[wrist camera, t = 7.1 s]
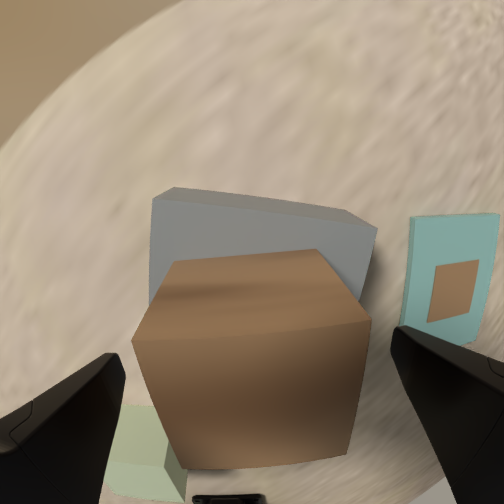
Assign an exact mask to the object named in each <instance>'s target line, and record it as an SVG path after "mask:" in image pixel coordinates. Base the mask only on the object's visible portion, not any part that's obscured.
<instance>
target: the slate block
mask: <svg viewBox="0 0 504 504" xmlns="http://www.w3.org/2000/svg"><path fill="white" fill-rule="evenodd" d="M377 229H378V228H376V227H374V226H372V225H371V224H369V223H367V222H366V221H364V220H362V219H360V218H359V217H357V216H355V215H353V214H351V213H350V212H348V211H346V210H342V209H336V208H330V207H324V206H318V205H312V204H306V203H299V202H292V201H286V200H279V199H271V198H264V197H257V196H249V195H241V194H233V193H225V192H216V191H208V190H198V189H189V188H179V187H173V188H171V189H169V190H168V191H166V192H164V193H162V194H160V195H158V196H157V197H155V198H153V201H152V215H151V233H150V259H149V306H150V304H151V302H152V300H153V298H154V296H155V294H156V293H157V291H158V289H159V287H160V285H161V283H162V282H163V280H164V278H165V276H166V274H167V273H168V271H169V269H170V267H171V265H172V264H173V262H174V261H180V260H191V259H203V258H214V257H226V256H237V255H249V254H260V253H272V252H283V251H294V250H306V249H317V250H318V251H319V253H320V254H321V255H322V256H323V258H324V259H325V260H326V261H327V263H328V264H329V265H330V266H331V268H332V269H333V270H334V271H335V273H336V274H337V275H338V276H339V278H340V279H341V280H342V282H343V283H344V284H345V285H346V287H347V288H348V289H349V290H350V292H351V293H352V294H353V296H354V297H355V298H356V300H357V301H358V302H359V299H360V296H361V292H362V289H363V285H364V281H365V278H366V274H367V270H368V266H369V263H370V259H371V255H372V251H373V246H374V242H375V238H376V234H377Z"/></svg>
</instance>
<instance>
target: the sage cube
mask: <svg viewBox="0 0 504 504" xmlns="http://www.w3.org/2000/svg"><path fill="white" fill-rule="evenodd" d="M187 474H188V469H182V468H181V466H180V464H179V462H178V460H177V457H176V455H175V453H174V451H173V449H172V447H171V444H170V442H169V440H168V438H167V436H166V433H165V431H164V429H163V426H162V424H161V421H160V419H159V417H158V414H157V412H156V409H155V407H154V406H139V405H124V404H121V410H120V416H119V420H118V424H117V428H116V431H115V435H114V439H113V443H112V447H111V451H110V455H109V459H108V463H107V467H106V471H105V476H104V480H103V481H104V482H105V483H106V484H107V485H108V487H109V488H110V489H111V490H112V491H113V492H114V494H116V495H121V496H127V497H134V498H141V499H148V500H157V501H167V502H181V503H185V493H186V483H187Z"/></svg>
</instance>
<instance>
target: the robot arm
mask: <svg viewBox="0 0 504 504" xmlns="http://www.w3.org/2000/svg"><path fill="white" fill-rule="evenodd" d="M390 350H391V355H392V358H393V360H394V363H395V365H396V368H397V371H398V373H399V376H400V379H401V381H402V384H403V386H404V389H405V391H406V393H407V395H408V397H409V399H410V401H411V403H412V405H413V407H414V409H415V411H416V413H417V415H418V417H419V419H420V421H421V423H422V425H423V427H424V429H425V431H426V434H427V436H428V438H429V440H430V442H431V444H432V446H433V449H434V451H435V453H436V455H437V457H438V460H439V462H440V464H441V466H442V469H443V471H444V473H445V476H446V478H447V480H448V483H449V485H450V487H451V490H452V492H453V495H454V498H455V500H456V503H457V504H504V363H503V362H500V361H497V360H495V359H492V358H490V357H486V356H484V355H482V354H479V353H476V352H474V351H471V350H469V349H466V348H464V347H461V346H458V345H456V344H453V343H451V342H448V341H446V340H443V339H440V338H438V337H435V336H433V335H430V334H428V333H425V332H423V331H420V330H417V329H415V328H412V327H410V326H407V325H403V326H398V327H396V328H395V329H394V331H393V336H392V342H391V348H390ZM125 380H126V375H125V371H124V368H123V366H122V363H121V360H120V357H119V355H118V354H117V353H105V354H103V355H101V356H100V357H98V358H97V359H95V360H94V361H92V362H91V363H89V364H87V365H86V366H84V367H83V368H81V369H80V370H78V371H77V372H75V373H73V374H72V375H70V376H69V377H67V378H66V379H64V380H62V381H61V382H59V383H58V384H56V385H55V386H53V387H52V388H50V389H48V390H47V391H45V392H44V393H42V394H41V395H39V396H37V397H36V398H34V399H33V401H32V400H31V401H30V402H28V403H26V404H25V405H23V406H22V407H20V408H18V409H17V410H15V411H13V412H12V413H10V414H8V415H6V416H4V417H2V418H0V504H99V499H100V494H101V489H102V485H103V480H104V476H105V471H106V467H107V463H108V459H109V455H110V451H111V447H112V443H113V439H114V435H115V431H116V428H117V424H118V420H119V416H120V410H121V404H122V398H123V392H124V386H125ZM192 502H193V503H194V504H262V497H261V495H243V496H193V497H192Z"/></svg>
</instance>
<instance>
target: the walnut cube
mask: <svg viewBox="0 0 504 504" xmlns="http://www.w3.org/2000/svg"><path fill="white" fill-rule="evenodd" d="M371 321H372V319H371V318H370V317H369V315H368V314H367V313H366V311H365V310H364V309H363V307H362V306H361V305H360V303H359V302H358V301H357V300H356V298H355V297H354V296H353V294H352V293H351V292H350V290H349V289H348V288H347V287H346V285H345V284H344V283H343V282H342V280H341V279H340V278H339V276H338V275H337V274H336V273H335V271H334V270H333V269H332V268H331V266H330V265H329V264H328V263H327V261H326V260H325V259H324V258H323V256H322V255H321V254H320V253H319V251H318V250H317V249H306V250H294V251H283V252H272V253H260V254H249V255H237V256H226V257H214V258H203V259H191V260H180V261H174V262H173V264H172V265H171V267H170V269H169V271H168V273H167V274H166V276H165V278H164V280H163V282H162V283H161V285H160V287H159V289H158V291H157V293H156V294H155V296H154V298H153V300H152V302H151V304H150V306H149V307H148V309H147V311H146V313H145V315H144V317H143V319H142V321H141V323H140V324H139V326H138V328H137V330H136V332H135V334H134V336H133V338H132V340H131V341H132V345H133V348H134V351H135V354H136V357H137V360H138V363H139V366H140V369H141V372H142V375H143V377H144V380H145V383H146V386H147V388H148V391H149V394H150V396H151V399H152V402H153V404H154V407H155V409H156V412H157V414H158V417H159V419H160V421H161V424H162V426H163V429H164V431H165V433H166V436H167V438H168V440H169V442H170V444H171V447H172V449H173V451H174V453H175V455H176V457H177V460H178V462H179V464H180V466H181V468H182V469H243V468H258V467H269V466H279V465H287V464H295V463H302V462H308V461H315V460H320V459H326V458H331V457H336V456H341V455H345V454H346V453H347V450H348V446H349V442H350V438H351V434H352V429H353V425H354V421H355V416H356V412H357V407H358V402H359V397H360V392H361V387H362V381H363V376H364V370H365V364H366V357H367V351H368V344H369V337H370V329H371Z"/></svg>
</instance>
